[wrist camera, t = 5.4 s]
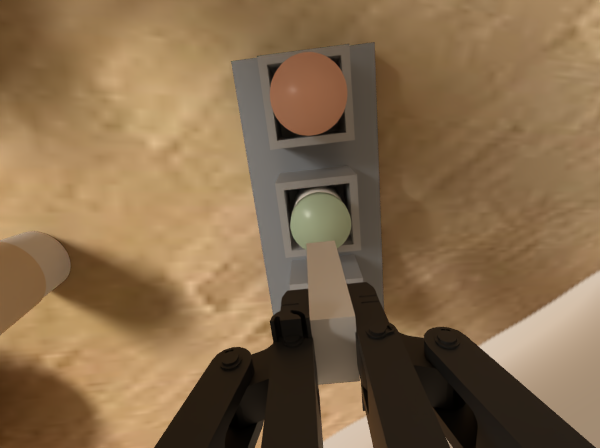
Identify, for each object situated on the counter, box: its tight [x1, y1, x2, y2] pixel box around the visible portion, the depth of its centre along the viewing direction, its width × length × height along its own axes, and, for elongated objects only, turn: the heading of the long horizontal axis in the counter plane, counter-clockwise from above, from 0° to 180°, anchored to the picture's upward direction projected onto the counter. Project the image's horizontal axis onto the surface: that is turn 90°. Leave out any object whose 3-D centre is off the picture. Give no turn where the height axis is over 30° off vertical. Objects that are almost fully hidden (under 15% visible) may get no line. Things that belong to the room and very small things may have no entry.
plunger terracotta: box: [270, 52, 347, 136], centre depth 21 cm, size 5×5×6 cm
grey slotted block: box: [231, 42, 384, 315], centre depth 29 cm, size 26×12×8 cm, turn 7°
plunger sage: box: [290, 185, 351, 250], centre depth 27 cm, size 5×5×6 cm
